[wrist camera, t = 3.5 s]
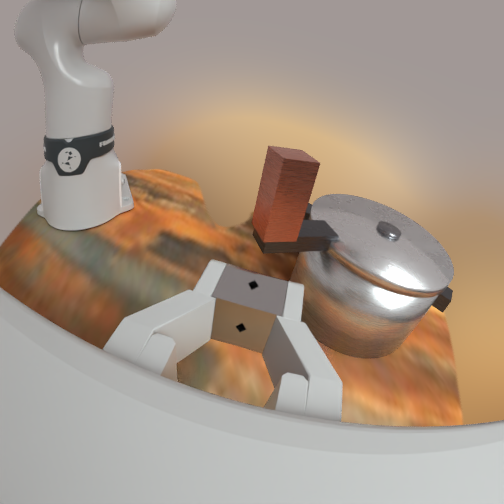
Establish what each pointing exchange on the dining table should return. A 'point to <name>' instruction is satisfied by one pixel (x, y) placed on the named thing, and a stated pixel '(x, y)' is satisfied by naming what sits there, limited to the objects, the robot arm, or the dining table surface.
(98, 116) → the robot arm
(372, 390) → the dining table surface
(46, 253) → the dining table surface
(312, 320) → the cooker pot
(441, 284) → the lid
